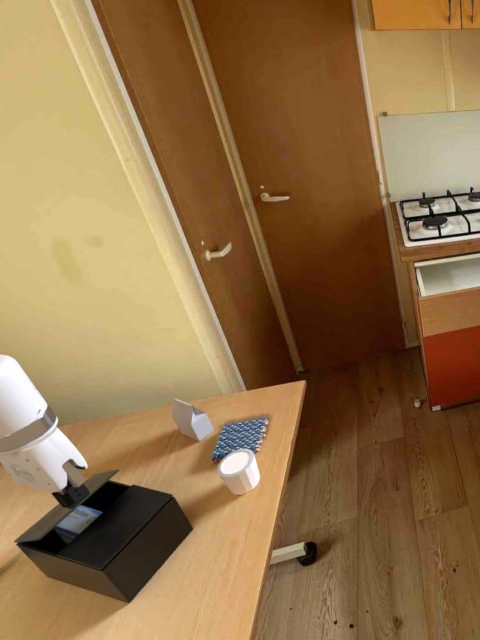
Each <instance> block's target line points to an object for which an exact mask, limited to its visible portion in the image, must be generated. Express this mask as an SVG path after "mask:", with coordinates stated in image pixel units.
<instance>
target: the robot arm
mask: <svg viewBox="0 0 480 640" xmlns="http://www.w3.org/2000/svg"><path fill="white" fill-rule="evenodd" d="M58 423H59V418H58V416H57V415H56V413H54V411H53V410H52V408H51V407H50V406H49V404H48V402H46V400H45V398H44V397H43V396H42V394H41V393H40V392H39V390H38V388H37V387H36V386H35V384H34V383H33V382H32V381H31V379H30V377H29V376H28V375H27V373H26V372H25V370H24V369H23V368H22V366H21V364H19V363H18V360H16V359H15V358H14V357H12V356H10V355H7V354H0V464H1V465H2V467H3V468H4V469H5V471H6V472H7V474H8V475H9V476H10V478H11V479H12V480H13V482H15V483H17V484H18V485H19V484H20V485H22V486H26V487H28V488H33V489H35V490H39V491H44V492H47V493H51V495H52V497H53V498H54V499H55V500H56V501H57V503H58V504H60V505H61V506H62V507H64V508H68V509H72V508H73V507H74V506H75V505H77V504H78V503H79V502H80V501H81V500H82V499H84V498H85V497H86V496H87V495H88V494H89V492H90V491H89V490H88V489H87V487H86V486H85V485H84V483H85V482H86V481H87V480H88V478H86V477H85V476H84V474H83V473H82V472H80V471H87V469H88V463H87V461H86V459H85V458H84V457H83V455H82V454H81V452H80V451H79V450H78V448H77V447H76V446H75V444H73V443H72V442H71V440H70V439H69V438H68V437H67V436H66V435H65V434H64V433H63V432H62V430H61V429H60V428H58V426H57V425H58Z"/></svg>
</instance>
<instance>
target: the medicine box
mask: <svg viewBox="0 0 480 640" xmlns="http://www.w3.org/2000/svg"><path fill="white" fill-rule="evenodd" d="M101 513H102V512H101V511H97V510H94V509H91V508H88V507H85V506H82V505H80V506H78V507H77V508H76V509H75V510H74V511H73V512H71V513H70V514H69V515H68V516H67V517H66V518H65V519H63V520H62V521H61V522H60V523H59V524H58V525H57V526H55V527H54V530H55V531H56V532H57V533H58V535H59V536H60V537H61V538H62V540H63V541H64V542H65V543H66V545H68V544H69V543H70V542H71V541H72V540H73V539H74V538H75V537H76V536H78V535H79V534H80V533H81V532H82V531H83V530H84V529H85V528H86V527H87V526H88V525H89V524H90V523H92V522H93V521H94V520H95V519H96V518H97V517H98V516H99V515H100V514H101Z"/></svg>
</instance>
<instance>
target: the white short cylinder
mask: <svg viewBox="0 0 480 640" xmlns="http://www.w3.org/2000/svg"><path fill="white" fill-rule="evenodd" d="M216 473H217V474H218V476H219V477H220V479H221V480H222V481H223V483H224V484H225V485H226V487H227V488H228V490H229V491H230V492H231V494H232V495H235V496H242V495H245V494H248V493H250V492H251V491H252V490H254V489H255V487H257V485H258V483H260V477H261V476H260V471H259V468H258V463H257V460H256V456H255V453H253V452H252V450H249V449H239V450H236V451H233V452H232V453H230V454H228V455H227V456H226V457H225V458H224V459H223V460H221V461H219V464H218V465H217V469H216Z"/></svg>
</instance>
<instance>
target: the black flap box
mask: <svg viewBox="0 0 480 640" xmlns="http://www.w3.org/2000/svg"><path fill="white" fill-rule="evenodd" d="M81 505H82V506H85V507H88V508H91V509H94V510H97V511H101V512H102V513H101V514H100V515H99V516H98V517H97V518H96V519H95V520H94V521H93V522H92V523H90V524H89V525H88V526H87V527H86V528H85V529H84V530H83V531H82V532H81V533H80V534H79V535H78V536H76V537H75V538H74V539H73V540H72V541H71V542H70V543H69V544H68V545H66V543H65V542H64V541H63V540H62V538H61V537H60V536H59V535H58V533H57V532H56V531H55V530H54V528H53V529H52V530H51V531H50V532H49V533H47V534H46V535H45V536H44V537H43V538H42V539H41V540H37V541H27V542H18V543H15V545H16V546H17V547H18V548H19V550H21V552H22V553H23V554H24V555H25V556H26V557H27V558H28V559H29V560H30V561H31V562H32V563H33V564H34V565H35V566H36V567H37V568H38V569H39V571H40V572H42V573H43V574H44V576H45V577H47V578H49V579H53V580H56V581H58V582H62V583H65V584H68V585H71V586H74V587H77V588H81V589H83V590H87V591H90V592H92V593H96V594H98V595H102V596H105V597H108V598H111V599H113V600H118V601H120V602H123V603H127V604H131V602H133V600H134V599H135V598H136V597H137V595H138V594H139V593H140V592H141V591H142V590H143V588H145V586H146V585H147V584H148V583H149V582H150V581H151V579H152V578H153V577H154V576H155V575H156V574H157V572H158V571H160V569H161V568H162V566H163V565H165V563H166V562H167V561H168V560H169V558H170V557H171V556H172V555H173V554H174V552H176V550H177V549H179V547H180V545H181V544H182V543H183V542H184V541H185V540H186V538H188V537H189V535H190V534H191V533H192V532H193V531H194V527H193V525H192V524H191V522H190V520H189V518H188V517H187V516H186V514H185V512H184V511H183V508H182V507H181V506H180V503H179V502H178V501H177V499H176V497H175V496H174V495H173V494H172V493H168V492H165V491H160V490H157V489H153V488H150V487H145V486H141V485H136V484H131V485H130V484H126V483H122V482H120V481H119V482H118V481H115V480H111V479H109V480H108V481H107V482H106V483H105V484H104V485H102V486H101V487H100V488H99V489H98V490H97V491H96V492H94V493H93V494H92V495H91V496H90V497H89V498H88V499H86V500H85V501H84V502H83V503H82V504H81Z"/></svg>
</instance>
